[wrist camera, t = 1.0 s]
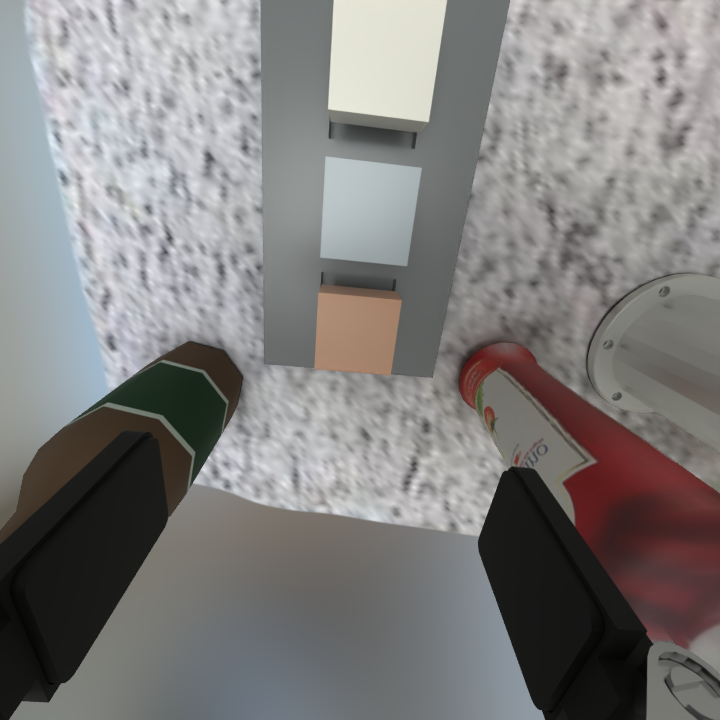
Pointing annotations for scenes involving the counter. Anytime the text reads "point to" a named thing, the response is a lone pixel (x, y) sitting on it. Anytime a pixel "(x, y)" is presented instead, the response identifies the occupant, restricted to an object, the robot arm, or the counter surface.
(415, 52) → the key ivory
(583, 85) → the counter surface
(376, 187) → the key slate
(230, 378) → the beer bottle
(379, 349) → the key terracotta
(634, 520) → the ketchup bottle
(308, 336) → the keypad base
